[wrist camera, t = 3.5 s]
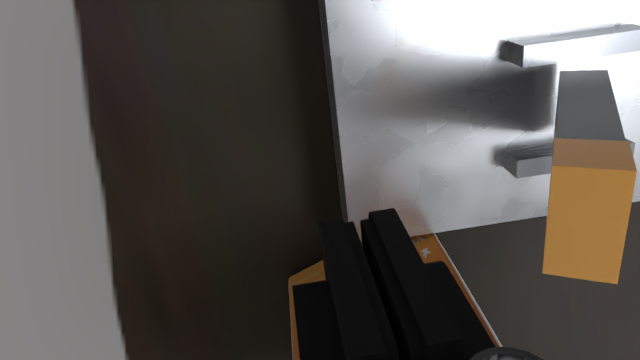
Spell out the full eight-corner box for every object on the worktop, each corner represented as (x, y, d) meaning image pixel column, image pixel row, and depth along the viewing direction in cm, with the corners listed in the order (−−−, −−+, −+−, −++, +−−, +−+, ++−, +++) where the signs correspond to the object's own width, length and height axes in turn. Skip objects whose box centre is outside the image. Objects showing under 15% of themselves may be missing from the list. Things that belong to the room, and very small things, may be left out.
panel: (882, -230, 19) (1034, -276, 15) (770, 148, 26) (857, 182, 22) (299, -161, 18) (308, -191, 14) (341, 214, 25) (355, 260, 21)
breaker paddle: (609, 68, 18) (637, 171, 11) (598, 146, 20) (617, 283, 12) (558, 69, 19) (552, 166, 12) (551, 144, 20) (542, 273, 13)
